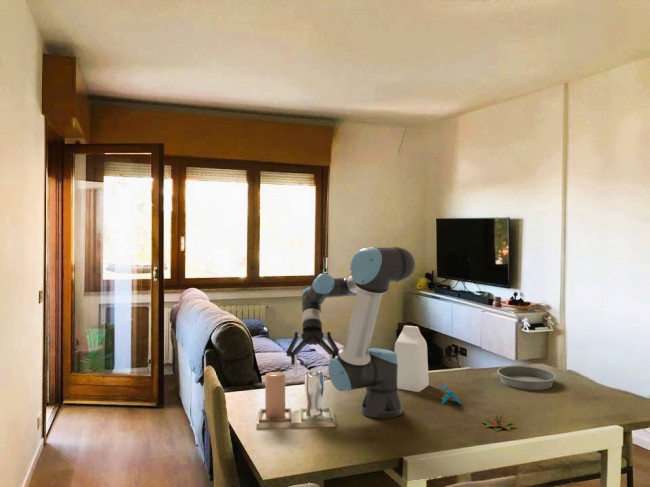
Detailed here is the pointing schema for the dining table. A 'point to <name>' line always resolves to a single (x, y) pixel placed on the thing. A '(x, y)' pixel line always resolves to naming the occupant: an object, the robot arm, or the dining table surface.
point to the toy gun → (448, 395)
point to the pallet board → (297, 419)
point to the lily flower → (504, 423)
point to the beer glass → (314, 393)
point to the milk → (411, 360)
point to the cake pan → (526, 377)
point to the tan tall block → (275, 395)
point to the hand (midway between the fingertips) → (313, 372)
